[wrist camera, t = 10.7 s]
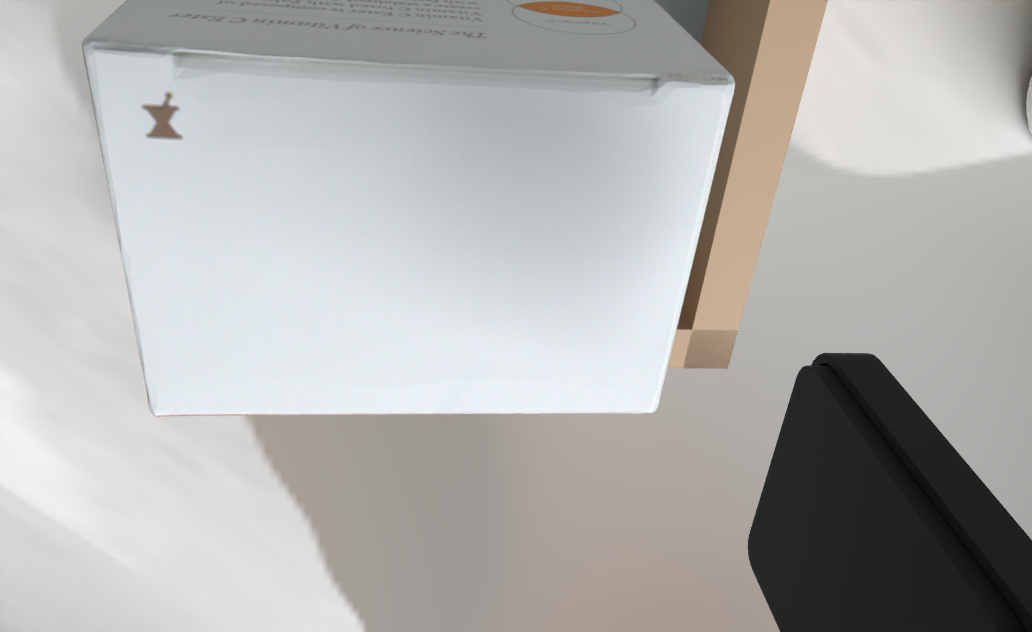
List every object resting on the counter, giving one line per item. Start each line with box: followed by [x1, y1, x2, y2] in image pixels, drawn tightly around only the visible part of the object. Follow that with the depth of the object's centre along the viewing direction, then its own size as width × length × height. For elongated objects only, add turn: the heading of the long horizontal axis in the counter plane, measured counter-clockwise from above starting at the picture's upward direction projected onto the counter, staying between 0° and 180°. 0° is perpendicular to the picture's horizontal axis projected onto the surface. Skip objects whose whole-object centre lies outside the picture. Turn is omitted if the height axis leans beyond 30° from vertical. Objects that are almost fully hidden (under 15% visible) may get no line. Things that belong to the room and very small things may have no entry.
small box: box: [82, 0, 735, 417], centre depth 16 cm, size 8×6×10 cm
